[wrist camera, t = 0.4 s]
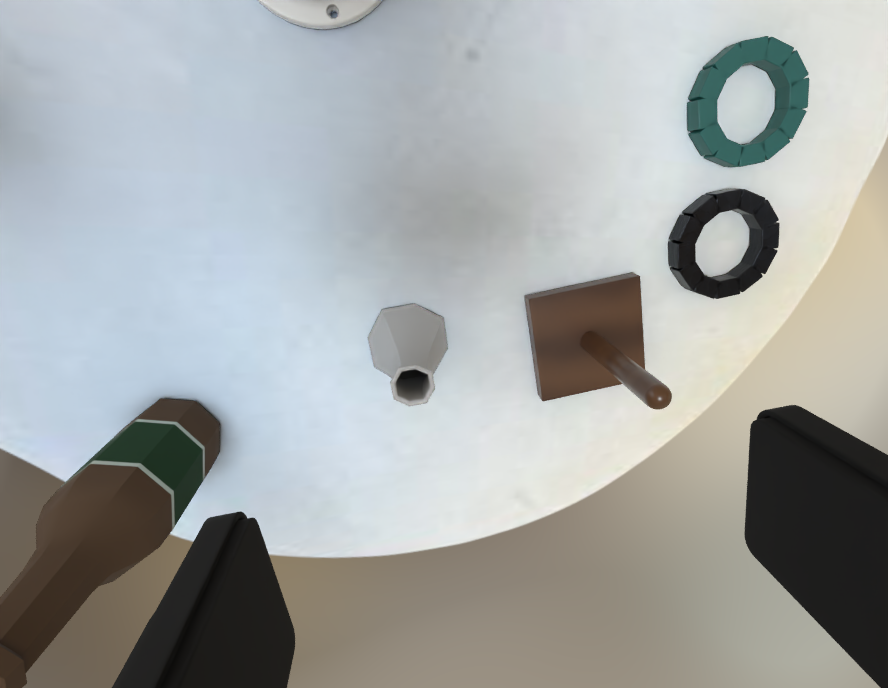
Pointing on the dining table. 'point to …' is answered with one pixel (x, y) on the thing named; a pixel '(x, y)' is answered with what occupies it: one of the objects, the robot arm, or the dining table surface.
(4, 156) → the dining table surface
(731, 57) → the teal ring
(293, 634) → the robot arm
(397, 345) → the flask
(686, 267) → the graphite ring
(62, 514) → the beer bottle
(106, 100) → the dining table surface
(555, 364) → the stand
